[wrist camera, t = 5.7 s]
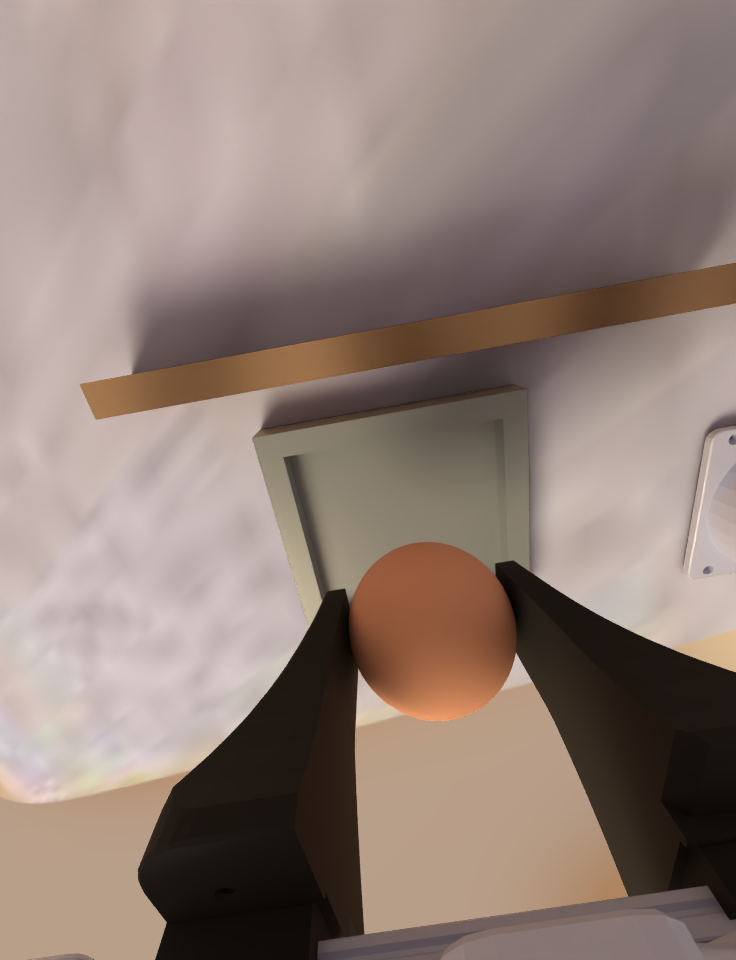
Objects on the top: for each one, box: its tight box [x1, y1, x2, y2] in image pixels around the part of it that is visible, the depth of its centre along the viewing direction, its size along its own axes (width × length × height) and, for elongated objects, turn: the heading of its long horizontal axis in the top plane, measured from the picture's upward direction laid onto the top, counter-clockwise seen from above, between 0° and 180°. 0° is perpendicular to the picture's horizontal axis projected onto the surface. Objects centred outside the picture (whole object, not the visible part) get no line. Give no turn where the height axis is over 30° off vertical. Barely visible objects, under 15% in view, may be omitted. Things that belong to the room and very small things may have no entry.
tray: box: [252, 385, 530, 628], centre depth 17 cm, size 11×11×1 cm
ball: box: [349, 542, 517, 721], centre depth 11 cm, size 5×5×5 cm
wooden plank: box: [80, 263, 736, 420], centre depth 13 cm, size 22×1×3 cm, turn 100°
